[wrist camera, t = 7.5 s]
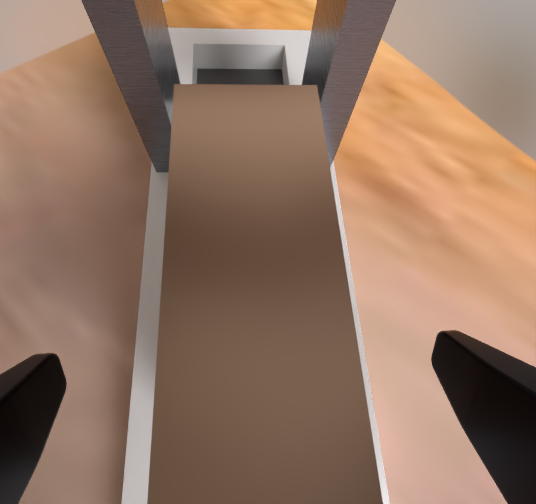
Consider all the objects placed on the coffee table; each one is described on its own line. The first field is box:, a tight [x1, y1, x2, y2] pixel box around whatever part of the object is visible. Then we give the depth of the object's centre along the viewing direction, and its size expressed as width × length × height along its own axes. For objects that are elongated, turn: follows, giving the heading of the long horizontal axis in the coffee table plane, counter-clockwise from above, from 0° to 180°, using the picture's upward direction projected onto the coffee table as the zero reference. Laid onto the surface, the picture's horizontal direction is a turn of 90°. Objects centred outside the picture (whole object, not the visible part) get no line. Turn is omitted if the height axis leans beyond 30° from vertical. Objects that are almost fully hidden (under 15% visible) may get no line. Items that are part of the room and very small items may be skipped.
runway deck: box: [121, 28, 390, 504], centre depth 17 cm, size 28×10×2 cm, turn 3°
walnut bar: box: [147, 84, 383, 504], centre depth 11 cm, size 10×4×8 cm, turn 3°
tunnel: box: [82, 0, 396, 172], centre depth 13 cm, size 4×9×10 cm, turn 93°
